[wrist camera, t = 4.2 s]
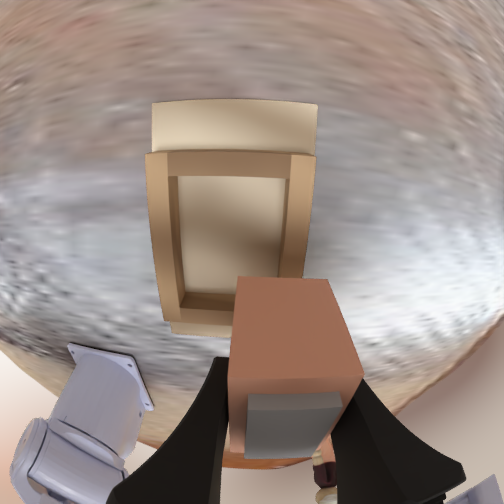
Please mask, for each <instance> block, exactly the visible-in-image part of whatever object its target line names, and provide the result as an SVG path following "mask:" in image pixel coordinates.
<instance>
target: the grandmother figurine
mask: <svg viewBox="0 0 504 504" xmlns="http://www.w3.org/2000/svg"><path fill="white" fill-rule="evenodd" d="M312 460H313V470H314V480H315V482H316V484H317V485H318V486H319V487H320V488H321V489H320V490H319V491H318V492H317V494H316V502H317V503H318V504H337V488H335V486H336V485H337V474H336V461H335V457H334V452H333V448H332V446H331V444H330V435H329V436H328V438H327V439H326V441H325V442H324V444H323V445H322V447H321V448H320V449H319V450H317V451H315V452H314V454H313V455H312Z"/></svg>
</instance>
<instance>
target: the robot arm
mask: <svg viewBox="0 0 504 504" xmlns="http://www.w3.org/2000/svg"><path fill="white" fill-rule="evenodd" d="M67 347H68V350H69V352H70V353H71V355H72V357H73V359H74V361H75V363H76V367H75V369H74V371H73V372H72V374H71V376H70V378H69V380H68V381H67V383H66V385H65V387H64V389H63V391H62V393H61V395H60V397H59V399H58V401H57V403H56V405H55V407H54V409H53V411H52V413H51V415H50V417H49V419H47V420H44V419H43V418H41V417H40V418H34V419H32V420H31V421H30V423H29V424H28V426H27V427H26V429H25V431H24V433H23V434H22V436H21V438H20V441H19V443H18V445H17V448H16V451H15V454H14V459H13V461H12V464H11V466H10V476H11V483H12V485H13V487H14V489H15V490H16V492H17V493H18V495H19V496H20V498H21V499H22V500H23V502H24V503H25V504H220V488H221V471H222V458H223V451H224V445H225V439H226V434H227V428H228V422H229V408H228V367H229V357H215V358H214V360H213V363H212V366H211V368H210V371H209V373H208V376H207V378H206V380H205V382H204V384H203V386H202V388H201V390H200V391H199V393H198V395H197V397H196V399H195V400H194V402H193V404H192V405H191V407H190V408H189V410H188V411H187V413H186V415H185V416H184V418H183V419H182V420H181V422H180V423H179V425H178V426H177V427H176V429H175V430H174V431H173V432H172V434H171V435H170V436H169V437H168V439H167V440H166V441H165V442H164V443H163V444H162V445H161V447H160V448H159V449H158V450H157V451H156V452H155V453H154V454H153V455H152V456H151V457H150V458H149V459H148V460H147V461H146V462H145V463H143V464H142V465H141V466H140V467H139V468H138V469H137V470H136V471H134V472H133V473H132V474H131V475H129V474H128V472H127V471H126V469H125V468H123V466H124V463H125V460H124V459H126V458H127V457H128V456H130V455H131V453H132V452H133V450H134V448H135V444H136V441H137V438H138V434H139V430H140V427H141V424H142V420H143V417H144V413H145V410H149V411H153V410H154V406H153V404H152V402H151V400H150V397H149V395H148V393H147V390H146V388H145V386H144V383H143V381H142V378H141V376H140V373H139V371H138V368H137V365H136V363H135V360H134V359H133V358H132V357H131V356H127V355H121V354H116V353H111V352H106V351H101V350H97V349H92V348H88V347H84V346H80V345H76V344H72V343H69V344H68V345H67ZM330 435H331V439H332V444H333V448H334V454H335V461H336V474H337V504H444V503H443V500H445V499H446V494H445V493H446V492H448V491H449V490H451V489H453V488H455V487H456V486H458V485H460V484H461V483H463V482H464V481H466V476H465V473H464V470H463V467H462V465H461V463H459V462H457V461H455V460H453V459H451V458H449V457H447V456H445V455H443V454H441V453H440V452H438V451H436V450H435V449H433V448H432V447H430V446H429V445H427V444H426V443H425V442H423V441H422V440H420V439H419V438H418V437H417V436H415V435H414V434H413V433H412V432H410V431H409V430H408V429H407V428H406V427H405V426H404V425H403V424H402V423H401V422H400V421H399V420H397V419H396V417H395V416H394V415H393V414H392V413H391V412H390V411H389V410H388V409H387V408H386V407H385V405H384V404H383V403H382V402H381V401H380V400H379V398H378V397H377V396H376V395H375V393H374V392H373V391H372V390H371V388H370V387H369V386H368V384H367V383H366V382H365V380H364V379H363V378H362V380H361V382H360V384H359V386H358V388H357V390H356V391H355V393H354V395H353V397H352V399H351V400H350V402H349V404H348V406H347V407H346V409H345V411H344V412H343V414H342V416H341V417H340V419H339V421H338V422H337V424H336V425H335V427H334V429H333V430H332V432H331V433H330ZM445 504H503V500H502V497H501V493H500V490H499V486H498V483H497V480H496V477H495V475H494V474H493V475H491V476H490V477H488V478H487V479H485V480H484V481H482V482H481V483H479V484H478V485H476V486H474V487H473V488H470V489H468V490H467V491H465V492H463V493H462V494H460V495H458V496H456V497H455V498H453V499H451V500H449V502H447V503H445Z"/></svg>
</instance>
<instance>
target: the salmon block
mask: <svg viewBox="0 0 504 504" xmlns="http://www.w3.org/2000/svg"><path fill="white" fill-rule="evenodd" d="M363 376H364V371H363V368H362V365H361V363H360V360H359V357H358V354H357V352H356V349H355V346H354V344H353V341H352V339H351V336H350V333H349V331H348V328H347V326H346V323H345V321H344V318H343V316H342V313H341V311H340V308H339V306H338V303H337V301H336V299H335V296H334V294H333V291H332V289H331V287H330V284H329V282H328V280H327V279H303V278H275V277H252V276H238V278H237V287H236V297H235V307H234V316H233V326H232V336H231V346H230V356H229V367H228V408H229V434H230V452H240V453H244V458H248V459H279V458H299V457H311V456H312V455H313V454H314V452H315V451H317V450H319V449H320V448H321V447H322V445H323V444H324V442H325V441H326V439H327V438H328V436H329V435H330V433H331V432H332V430H333V429H334V427H335V425H336V424H337V422H338V421H339V419H340V417H341V416H342V414H343V412H344V411H345V409H346V407H347V406H348V404H349V402H350V400H351V399H352V397H353V395H354V393H355V391H356V390H357V388H358V386H359V384H360V382H361V380H362V378H363Z"/></svg>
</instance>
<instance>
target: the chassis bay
mask: <svg viewBox="0 0 504 504" xmlns="http://www.w3.org/2000/svg"><path fill="white" fill-rule="evenodd" d="M317 109H318V105H315V104H307V103H298V102H287V101H274V100H254V99H204V100H184V101H171V102H160V103H152V152H151V153H147V154H145V168H146V186H147V200H148V212H149V223H150V232H151V241H152V249H153V257H154V264H155V271H156V278H157V284H158V290H159V296H160V302H161V307H162V312H163V318H164V321H170V325H171V330H172V333H175V334H185V335H196V336H210V337H226V338H231V336H232V326H233V316H234V307H235V297H236V287H237V278H238V276H252V277H275V278H302V276H303V269H304V262H305V255H306V248H307V240H308V232H309V224H310V216H311V207H312V197H313V188H314V177H315V166H316V157H315V156H314V154H315V141H316V126H317Z"/></svg>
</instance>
